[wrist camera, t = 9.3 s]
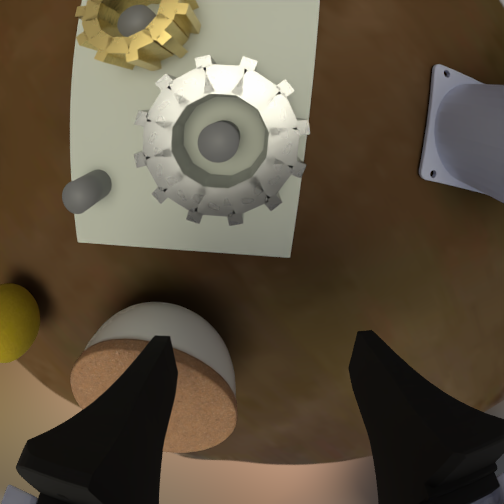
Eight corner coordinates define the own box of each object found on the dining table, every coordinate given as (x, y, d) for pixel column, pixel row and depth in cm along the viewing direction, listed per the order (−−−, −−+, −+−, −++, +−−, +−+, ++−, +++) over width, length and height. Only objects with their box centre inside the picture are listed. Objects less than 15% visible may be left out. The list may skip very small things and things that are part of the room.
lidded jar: (89, 335, 24) (45, 418, 16) (146, 246, 21) (91, 337, 12) (190, 395, 27) (178, 483, 19) (267, 328, 24) (277, 433, 15)
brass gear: (210, -12, 13) (201, -40, 9) (189, 74, 15) (173, 64, 11) (119, -13, 12) (91, -35, 8) (98, 69, 14) (64, 63, 11)
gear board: (317, -23, 13) (337, -55, 9) (287, 249, 21) (298, 288, 16) (95, -20, 12) (60, -43, 8) (85, 235, 20) (51, 267, 16)
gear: (305, 72, 15) (317, 65, 12) (289, 212, 18) (297, 231, 16) (155, 63, 15) (138, 56, 12) (150, 202, 18) (134, 219, 15)
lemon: (-1, 268, 21) (-54, 319, 14) (41, 264, 21) (-16, 324, 14) (21, 320, 24) (-21, 376, 16) (63, 321, 23) (22, 387, 16)
